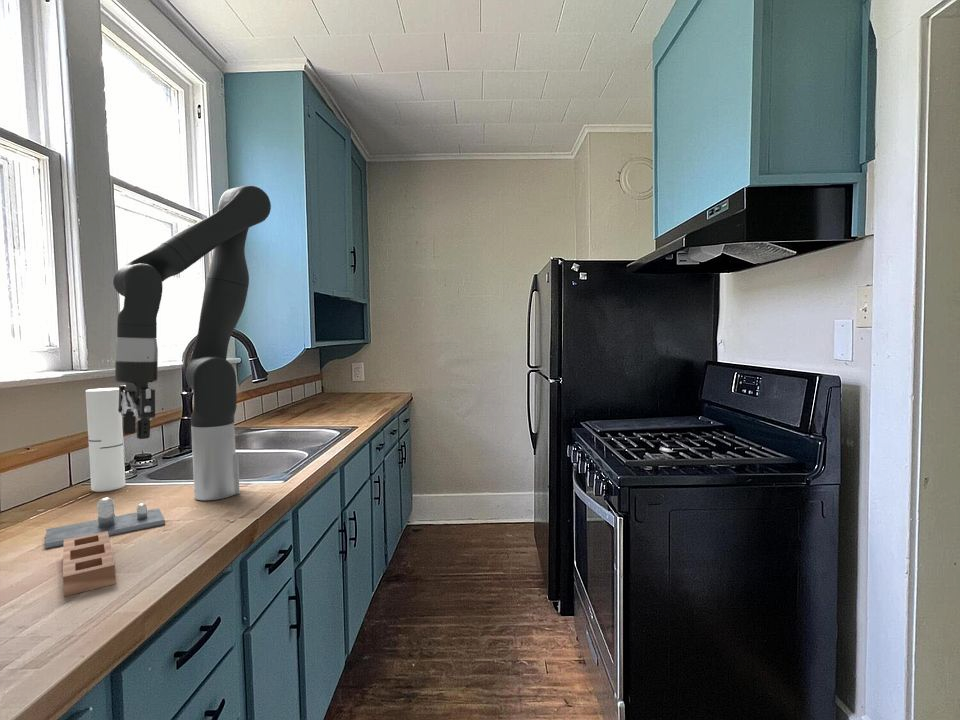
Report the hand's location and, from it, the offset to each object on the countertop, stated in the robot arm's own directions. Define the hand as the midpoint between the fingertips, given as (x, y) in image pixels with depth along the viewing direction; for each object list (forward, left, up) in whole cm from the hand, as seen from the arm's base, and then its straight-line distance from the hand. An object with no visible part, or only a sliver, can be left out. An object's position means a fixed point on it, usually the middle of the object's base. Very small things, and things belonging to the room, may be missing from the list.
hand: (135, 436), depth 113 cm
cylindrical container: (+4, -31, -18) cm, 35 cm away
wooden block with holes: (+9, +24, -17) cm, 31 cm away
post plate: (+6, +4, -17) cm, 19 cm away
